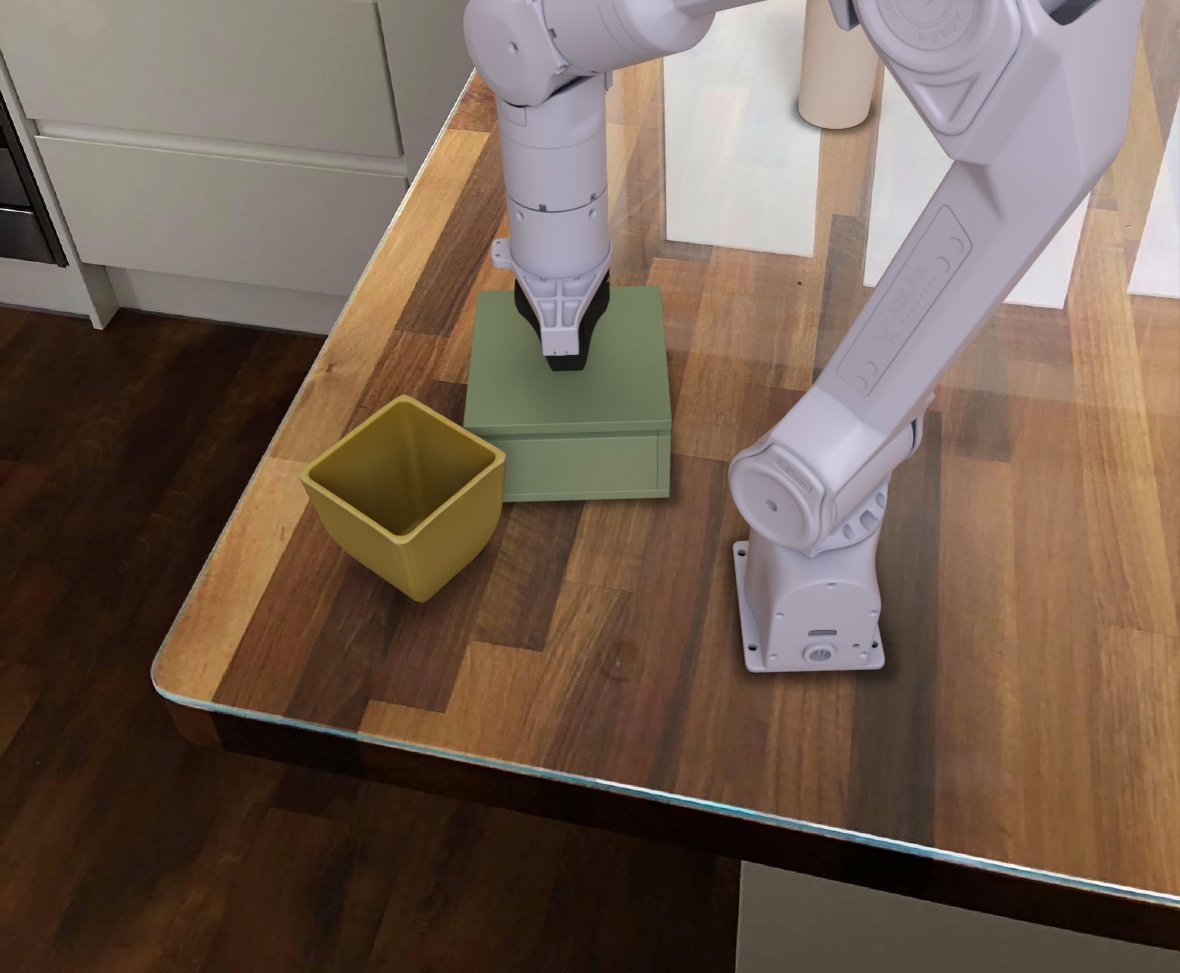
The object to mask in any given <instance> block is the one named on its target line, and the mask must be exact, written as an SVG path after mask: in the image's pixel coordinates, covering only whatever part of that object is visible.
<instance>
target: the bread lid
mask: <svg viewBox="0 0 1180 973" xmlns="http://www.w3.org/2000/svg"><path fill="white" fill-rule="evenodd" d="M662 294H663V293H662V286H661V284H651V285H649V284H647V285H621V286H610V300H609V304H608V307H607V309H606V311H605V312H604V314H603V315H602V316H601V317H600V319H599V320H598V322H597V324H596V326H595V328H594V331H593V333H592V337H591V342H590V348H589V353H588V357H587V361H586V364H585V367H584V369H583V370H582V371H552V370H551V368H550V366H549V364H548V361H547V359H546V357H545V356H544V355H543V352H542V346H541V343H540V340H539V338H538V336H537V334H536V332H535V330H534V329H533V327H532V326H531V324H530V323H529V322H528V321H527V320H526V319H525V318H524V317H523V316H522V315H520V314H519V312H518V310H517V308H516V305H515V301H514V289H497V290H495V289H494V290H478V291H477V296H476V305H475V311H474V312H475V314H474V320H473V322H474V323H473V324H474V325H473V330H472V338H471V340H472V341H471V350H470V358H469V367H468V368H469V369H468V378H467V385H466V396H465V403H464V404H465V405H464V413H463V423H462V428H464V429H466V430H467V431H469V432H471V433H472V434H474V435H476V436H482V435H516V434H549V433H583V432H616V431H650V430H670V431H672V428H673V418H672V417H673V416H672V407H671V394H670V393H671V392H670V383H669V381H670V380H669V370H668V368H669V367H668V356H667V355H668V354H667V345H666V333H665V321H664V308H663V297H662V296H663V295H662Z"/></svg>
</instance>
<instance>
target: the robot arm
mask: <svg viewBox="0 0 1180 973" xmlns="http://www.w3.org/2000/svg"><path fill="white" fill-rule="evenodd" d="M764 1H765V2H766V1H767V0H469V1H468V2H467V4H466V6H465V8H464V14H463V19H462V28H463V29H462V31H463V39H464V43H465V46H466V50H467V53H468V56H469V58H470V60H471V62H472V65H473V67H474V69H475V71H476V72H477V73H478V76H479V77H480V78H481V80H482V81H483V82H484V84H485V86H487V87H488V89H489V90H491V92H493V93H494V96H495V107H496V115H497V127H498V136H499V137H498V138H499V145H500V157H501V167H502V175H503V185H504V194H505V203H506V214H507V223H508V235H509V237H500V238H495V239H494V240H493V241H492V242H491V250H490V260H491V265H492V267H494V268H496V269H508V270H510V271H511V272H512V273H513V275H514V277H515V278H514V287H513V290H514V301H515V305H516V308H517V310H518V312H519V314H520V315H522V316H523V317H524V318H525V319H526V320H527V321H528V322H529V323H530V324H531V326H532V327H533V329H534V330H535V332H536V334H537V336H538V338H539V340H540V343H541V346H542V352H543V355H544V356H545V357H546V359H547V361H548V364H549V366H550V368H551V370H552V371H582V370H583V369H584V367H585V364H586V361H587V357H588V353H589V348H590V342H591V337H592V333H593V331H594V328H595V326H596V324H597V322H598V320H599V319H600V317H601V316H602V315H603V314H604V312H605V311H606V309H607V307H608V304H609V300H610V287H611V286H610V281H608V280H609V278H610V267H611V265H612V263H613V258H614V244H613V239H612V237H611V235H610V219H609V217H610V216H609V215H610V214H609V181H608V153H607V152H608V150H607V146H608V145H607V117H606V115H607V114H606V112H607V111H606V110H607V108H606V95H607V92H608V91H609V90H610V88H612V87H613V86H614V78H613V77H614V74H613V72H614V71H617V70H621V69H626V68H629V67H632V66H636V65H640V64H644V63H647V62H651V61H654V60H658V59H662V58H665V57H668V56H672V55H676V54H680V53H683V52H688V51H689V50H692V49H693V48H695V47H696V46H697V45H698V44H700V42H701V41H703V39H704V38H705V37H706V35H707V34H708V33H709V31H710V29H711V27H712V26H713V23H714V21H715V17H716V14H717V13H719V12H722V11H727V10H731V9H734V8H735V9H736V8H740V7H744V6H747V5H752V4H756V3H760V2H764ZM828 1H829V4H830V7H831V10H832V13H833V16H834V19H835V21H836V24H837V25H838V26H839V27H840V28H841V29H843V30H846V31H850V30H852V29H853V28H855V27H856V26H858V25H859V24H860V25H861V27H862V29H863V31H864V32H865V34H866V36H867V38H868V40H869V41H870V43H871V45H872V46H873V48H874V50H875V51H876V53H877V54H878V56H879V59H880V60H881V62H882V64H884V66H885V68H886V69H887V70H888V72H889V73H890V74H891V76H892V77H893V79H894V80H895V82H896V83H897V85H898V86H899V88H900V89H901V90H902V92H903V93H904V95H905V96H906V98H907V99H908V101H909V102H910V103H911V105H912V106H913V108H914V109H915V111H916V113H917V114H918V115H919V117H920V118H921V119H922V121H923V123H924V124H925V126H926V127H927V128H928V130H929V131H930V133H931V134H932V136H933V138H934V139H935V140H936V141H937V143H938V144H939V146H940V147H941V148H942V150H943V151H944V153H945V154H946V156H947V157H948V158H949V159H950V160H952V161H953V162H952V164H951V165H950V166H949V169H948V170H947V172H946V174H945V175H944V176H943V178H942V180H941V181H940V183H939V185H938V186H937V188H936V190H934V192H933V194H932V196H931V197H930V199H929V201H928V202H927V203H926V205H925V207H924V208H923V210H922V211H921V213H920V215H919V216H918V218H917V220H915V222H914V224H913V226H912V228H911V229H910V230H909V232H908V233H907V235H906V237H905V239H904V240H903V241H902V243H901V245H900V247H899V248H898V249H897V251H896V253H895V255H894V256H893V258H892V259H891V261H889V264H888V265H887V267H886V269H885V270H884V272H883V273H882V275H881V277H880V278H879V280H878V281H877V283H876V285H875V286H874V288H873V289H872V291H871V292H870V294H869V295H868V298H867V299H866V300H865V302H864V304H863V305H862V306H861V309H860V310H859V311H858V313H857V315H855V316H856V317H854V319H853V321H852V323H851V324H850V326H849V327H848V330H846V332H845V334H844V335H843V337H842V338H841V340H840V342H839V343H838V345H837V346H836V348H835V350H834V351H833V352H832V355H831V356H830V358H829V359H828V361H827V362H826V364H825V366H824V367H823V369H822V371H820V374H819V375H818V377H817V378H816V380H815V381H814V383H813V384H812V385H811V386H810V388H809V389H807V391H805V393H804V394H803V395H802V396H801V397H800V398H799V399H798V401H796V403H795V404H794V405H793V406H792V407H791V408H790V410H789V411H787V413H786V414H785V415H784V416H783V417H782V418H781V419H780V420H778V422H776V423H775V424H774V425H773V426H772V427H771V428H770V429H769V430H767V431H766V432H765V433H764V434H763V435H762V436H761V437H760V438H759V439H757V440H756V441H755V442H753V443H752V444H751V446H749V447H746V448H743V449H741V450H740V451H739V452H737V454H736V455H735V456H734V457H733V458H732V460H731V461H730V463H729V466H728V469H727V481H728V487H729V490H730V493H731V497H732V499H733V500H732V501H733V502H734V504H735V507H736V508H737V510H738V512H739V513H740V515H741V516H742V518H743V519H744V520H745V522H746V523H747V524H748V525H749V535H748V540H737V541H735V542H734V543H733V545H732V556H733V566H734V575H735V584H736V593H737V602H738V612H739V620H740V629H741V640H742V649H743V658H744V666H745V668H746V670H747V671H749V672H750V673H782V672H783V673H785V672H787V673H788V672H822V671H823V672H824V671H825V672H826V671H860V670H861V671H863V670H864V671H865V670H866V671H867V670H881V669H882V668H883V667H884V665H885V662H886V657H885V653H884V647H883V642H882V637H881V633H880V628H879V618H880V616H881V615H880V614H881V611H882V610H881V609H882V598H881V593H880V588H879V582H878V579H877V578H878V577H877V570H876V554H877V548H878V544H879V541H880V540H879V539H880V535H881V530H882V527H883V522H884V517H885V514H886V509H887V504H888V493H889V492H888V491H889V490H888V489H889V488H888V485H889V484H890V482H891V479H892V474H893V471H894V470H895V469H896V468H897V467H898V466H899V465H900V464H901V463H902V462H904V461H906V460H908V459H909V458H911V457H912V455H914V454H915V452H916V451H917V450H918V449H919V446H920V445H921V443H922V440H923V434H924V433H923V432H924V431H923V429H924V426H923V425H924V417H925V414H926V411H927V409H928V408H929V407H930V405H931V404H932V403H933V401H934V400H935V399H936V394H935V392H934V390H935V389H936V388H937V386H938V385H939V384H940V383H941V382H942V380H943V379H944V378H945V376H946V375H947V374H948V373H949V371H950V370H951V369H952V368H953V366H954V365H955V364H956V362H958V360H959V359H960V357H961V356H962V355H963V353H964V352H965V350H967V349H968V348H969V346H970V344H972V342H973V341H974V339H975V338H976V337H977V336H978V335H979V333H980V332H981V331H982V329H983V328H984V327H985V326H986V325H987V323H988V322H989V321H990V319H991V318H992V317H993V315H994V314H995V313H996V312H997V310H998V309H999V308H1000V306H1001V305H1002V304H1003V303H1004V301H1005V300H1006V299H1007V298H1008V297H1009V295H1010V294H1011V293H1012V292H1013V290H1014V289H1015V288H1016V286H1017V285H1018V284H1019V282H1020V281H1021V280H1022V278H1023V277H1024V276H1025V275H1026V273H1027V272H1028V271H1029V270H1030V269H1031V267H1032V266H1033V265H1034V264H1035V262H1036V261H1037V260H1038V258H1039V257H1040V256H1041V254H1042V253H1043V252H1044V250H1045V249H1047V247H1048V245H1050V244H1051V242H1052V241H1053V239H1054V238H1055V237H1056V236H1057V235H1058V233H1059V232H1060V231H1061V229H1062V228H1063V227H1064V226H1065V224H1066V223H1067V222H1068V220H1069V219H1070V218H1071V217H1072V215H1073V214H1074V213H1075V211H1076V210H1077V209H1078V208H1079V206H1080V205H1081V204H1082V203H1083V202H1084V200H1085V199H1086V197H1087V196H1088V195H1089V194H1090V193H1091V191H1092V190H1093V188H1094V187H1095V186H1096V185H1097V183H1098V182H1099V181H1100V180H1101V179H1102V177H1103V176H1104V174H1106V172H1107V171H1108V169H1110V168H1111V166H1112V164H1113V163H1114V162H1115V161H1116V159H1117V157H1118V155H1119V153H1120V152H1121V150H1122V147H1123V146H1124V144H1125V141H1126V137H1127V132H1128V125H1129V116H1130V108H1131V101H1132V100H1131V99H1132V90H1133V83H1134V74H1135V65H1136V58H1137V57H1136V56H1137V47H1138V41H1139V40H1138V39H1139V31H1140V25H1141V24H1140V23H1141V14H1142V7H1143V6H1142V5H1143V0H828ZM873 645H874V646H875V647H873ZM750 648H754V649H755V650H751V649H750Z"/></svg>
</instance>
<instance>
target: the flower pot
mask: <svg viewBox="0 0 1180 973" xmlns="http://www.w3.org/2000/svg"><path fill="white" fill-rule="evenodd" d="M505 464H506V454H505V453H504V452H503V451H502V450H500V449H499V448H497V447H495V446H493V445H492V444H490V443H488V442H486V441H485V440H483V439H481V438H480V437H478V436H476V435H474V434H472V433H471V432H469V431H467V430H466V429H464V428H463V426H461V425H459V424H458V423H456V422H454V421H452V420H450V419H449V418H447V417H446V416H444V415H442V414H440V413H439V412H437V411H435V410H434V409H433V408H431V407H429V406H427V405H426V404H424V403H422V402H421V401H419V400H417V399H416V398H413V397H412V396H409V395H408V394H405V393H404V394H400V395H399V396H397V397H395V398H394V399H392V400H391V401H389V402H388V403H387V404H385V405H384V406H382V407H381V408H380V409H378V410H377V411H375V412H374V413H373V414H371V416H369V417H368V418H367V419H366V420H364V421H363V422H362V423H360V424H359V425H358V426H356V427H355V428H354V429H352V430H351V431H350V432H349V433H348V434H346V435H345V436H344V437H343V438H341V439H340V440H338V441H337V442H335V444H334V443H333V445H332V446H330V447H329V448H328V449H327V450H325V451H324V452H323V453H321V454H319V455H318V456H317V457H316V458H314V459H313V460H312V461H311V462H309V463H308V464H307V465H306V466H305V467H304V468H303V469H302V470H301V471H300V472H299V473H298V474H297V475H298V479H299V481H300V482H301V484H302V486H303V489H304V490H305V493H306V494H307V496H308V499H309V500H310V503H311V504H312V506H313V508H314V510H315V512H316V515H317V516H318V518H319V520H320V522H321V524H322V525H323V527H324V529H325V531H326V532H327V533H328V534H329V536H330V537H331V539H333V541H334V542H335V543H336V544H337V545H338V546H339V547H340V548H341V549H342V550H343V551H344V552H345V553H347V554H348V555H349V556H350V557H352V558H353V559H354V560H355V561H357V562H358V563H360V564H361V565H363V566H364V567H366V568H367V569H368V570H370V571H372V572H373V573H374V574H376V575H377V576H379V577H380V578H382V579H383V580H385V581H386V582H387V583H389V585H391V586H393V587H395V588H396V589H397V590H399V591H400V592H401V593H403V594H404V595H406V596H407V597H408V598H410V599H411V600H413V601H414V602H416V603H420V604H421V603H422V604H423V603H426V602H427V601H429V600H431V599H432V598H433V597H434V595H436V594H437V593H438V592H439V591H440V590H441V589H442V588H443V587H444V586H445V585H447V584H448V583H449V582H450V581H451V580H452V579H453V578H454V577H456V575H458V574H459V573H460V572H461V571H462V570H464V569H465V568H466V567H467V566H468V565H469V564H470V563H472V562H473V560H475V559H476V558H477V557H478V555H479V554H480V553H481V552H482V551H483V549H484V548H485V547H486V545H487V544H488V543H489V541H490V540H491V538H492V537H493V535H494V533H495V531H496V529H497V527H498V525H499V522H500V519H501V515H502V511H503V503H504V502H503V494H504V481H505Z"/></svg>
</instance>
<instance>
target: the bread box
mask: <svg viewBox="0 0 1180 973" xmlns="http://www.w3.org/2000/svg"><path fill="white" fill-rule="evenodd" d="M671 432H672V431H671V430H650V431H616V432H583V433H549V434H516V435H482V436H478V437H480V438H481V439H483V440H485V441H486V442H488V443H490V444H492V445H493V446H495V447H497V448H499V449H500V450H502V451H503V452H504V453H505V454H506V464H505V481H504V494H503V503H522V502H525V503H526V502H557V501H558V502H560V501H593V500H595V501H596V500H628V499H631V500H632V499H666V498H670V494H671V492H670V491H671V489H670V488H671V447H672V446H671V445H672V444H671V442H672V441H671V440H672V439H671V438H672V435H671V434H672V433H671Z"/></svg>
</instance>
